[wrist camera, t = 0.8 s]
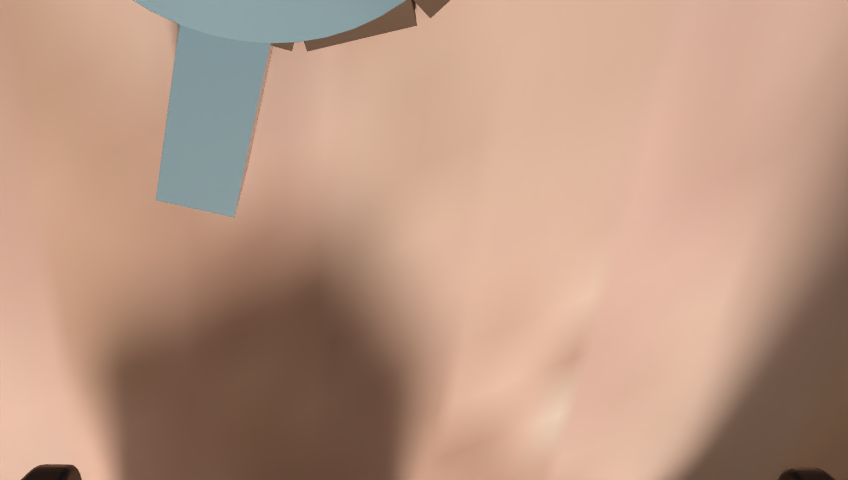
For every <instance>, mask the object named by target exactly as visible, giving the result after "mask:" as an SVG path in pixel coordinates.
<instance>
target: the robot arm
mask: <svg viewBox="0 0 848 480" xmlns="http://www.w3.org/2000/svg"><path fill="white" fill-rule="evenodd" d="M21 480H82V479H81V476H80V473H79V471H78V469H77V468H76V467H75V466H73V465H60V464H44V465H39V466H37V467H35V468H34V469H32V470H31V471H30V472H29V473H27V474H26V475H25V476H24V477H23V478H22V479H21ZM777 480H835V479H833V478H832V477H831V476H830V475H829V474H827V473H826V472H824V471H823V470H821V469H818V468H813V467H790V468H786V469H785V470H783V471H782V472H781V473H780V475H779V477H778V479H777Z"/></svg>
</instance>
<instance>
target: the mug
mask: <svg viewBox="0 0 848 480" xmlns="http://www.w3.org/2000/svg"><path fill="white" fill-rule="evenodd" d="M133 1H135V2H137V3H138V4H140V5H141V6H143V7H145V8H146V9H148V10H150V11H151V12H154V13H156V14H158V15H160V16H162V17H164V18H167V19H169V20H171V21H173V22H175V23H177V24H179V33H178V40H177V47H176V55H175V62H174V70H173V77H172V84H171V92H170V99H169V106H168V114H167V121H166V129H165V136H164V143H163V151H162V158H161V165H160V173H159V180H158V187H157V195H156V200H157V201H162V202H166V203H171V204H175V205H180V206H185V207H189V208H194V209H198V210H203V211H207V212H212V213H216V214H221V215H225V216H230V217H235V213H236V209H237V206H238V202H239V198H240V194H241V191H242V187H243V183H244V179H245V176H246V172H247V168H248V163H249V158H250V154H251V149H252V144H253V139H254V134H255V130H256V125H257V120H258V115H259V111H260V106H261V101H262V96H263V91H264V87H265V82H266V77H267V72H268V68H269V63H270V58H271V53H272V48H273V44H274V43H288V42H301V41H307V40H313V39H319V38H325V37H329V36H332V35H335V34H338V33H342V32H345V31H348V30H351V29H354V28H357V27H359V26H361V25H363V24H365V23H367V22H370V21H372V20H374V19H376V18H378V17H380V16H382V15H384V14H385V13H387V12H388V11H390V10H391V9H393V8H395V7H396V6H398V5H399V4H401V3H403V2H404V1H406V0H133Z"/></svg>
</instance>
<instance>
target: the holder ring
mask: <svg viewBox="0 0 848 480" xmlns="http://www.w3.org/2000/svg"><path fill="white" fill-rule="evenodd" d="M414 1H415V2H416V3H417V4H418V6H419V7H420V8H421V9H422V10H423V11H424V12H425V13H426V14H427V15H428V16H429V17H430V18H431V17H432V16H433V15H435V14H436V13H437V12H438V11H439V10H440V9H441V8H442V7H443V6H444V5H445V4H447V3H448V2H449V1H450V0H414ZM412 26H417V22H416V15H415V10H414V5H413V1H412V0H406V1H404V2H403V3H401V4H399V5H398V6H396V7H395V8H393V9H391V10H390V11H388V12H387V13H385V14H384V15H382V16H380V17H378V18H376V19H374V20H372V21H370V22H367V23H365V24H363V25H361V26H359V27H357V28H354V29H351V30H348V31H345V32H342V33H338V34H335V35H332V36H329V37H325V38H319V39H313V40H307V41H304V43H305V46H306V49H307V51H311V50H315V49H319V48H324V47H328V46H332V45H336V44H341V43H345V42H349V41H353V40H357V39H362V38H366V37H370V36H374V35H379V34H383V33H387V32H391V31H396V30H400V29H404V28H408V27H412ZM293 44H294V42H288V43H274V44H273V46H275V47H279V48H283V49H286V50H290V51H292V49H293Z"/></svg>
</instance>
